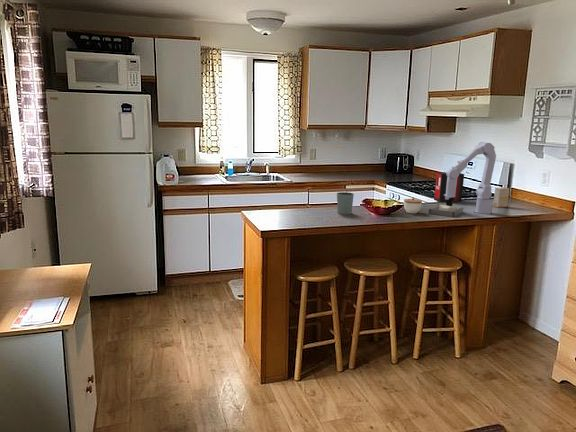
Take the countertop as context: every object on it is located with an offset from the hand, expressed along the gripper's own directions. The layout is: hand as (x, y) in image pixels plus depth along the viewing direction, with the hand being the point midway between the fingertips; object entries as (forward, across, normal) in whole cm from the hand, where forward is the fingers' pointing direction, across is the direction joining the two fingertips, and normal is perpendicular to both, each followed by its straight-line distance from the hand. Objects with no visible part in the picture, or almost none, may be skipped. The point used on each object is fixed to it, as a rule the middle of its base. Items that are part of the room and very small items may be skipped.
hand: (448, 209), depth 304 cm
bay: (+1, +5, 0) cm, 5 cm away
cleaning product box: (+2, -41, -13) cm, 43 cm away
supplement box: (+2, -44, +22) cm, 49 cm away
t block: (+1, +6, 0) cm, 7 cm away
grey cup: (+2, +50, -48) cm, 69 cm away
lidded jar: (+2, +19, -17) cm, 26 cm away
